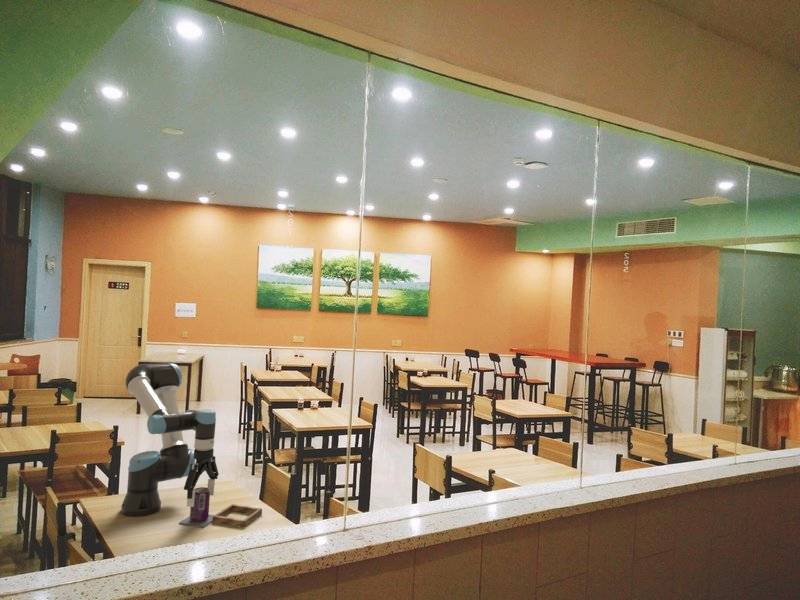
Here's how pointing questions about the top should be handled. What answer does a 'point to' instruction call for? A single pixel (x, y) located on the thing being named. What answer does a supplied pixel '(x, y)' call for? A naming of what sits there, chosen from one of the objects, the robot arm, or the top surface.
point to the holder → (222, 519)
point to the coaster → (197, 524)
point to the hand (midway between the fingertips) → (200, 500)
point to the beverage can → (200, 504)
